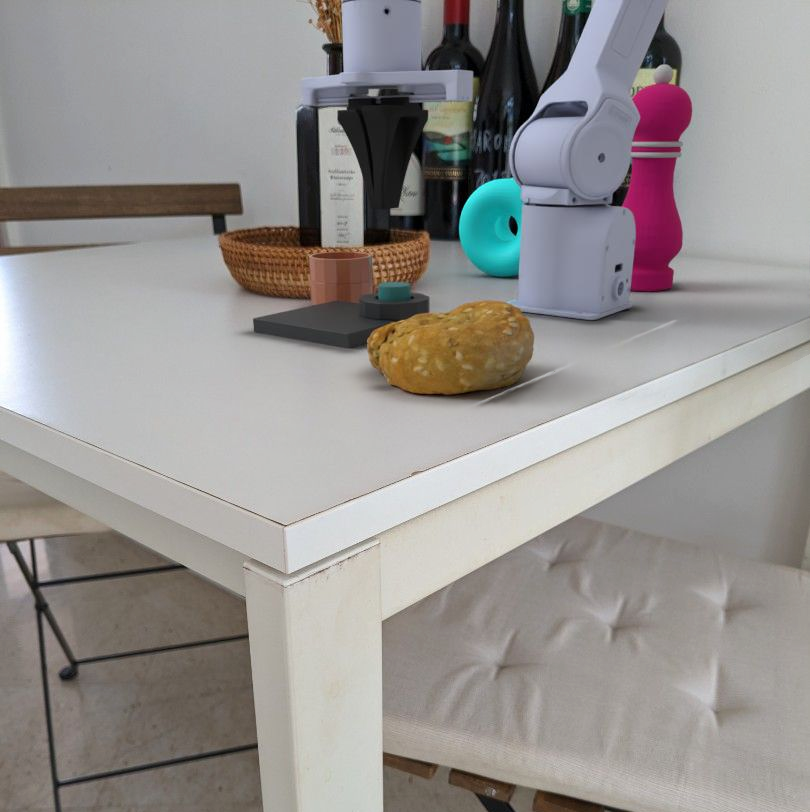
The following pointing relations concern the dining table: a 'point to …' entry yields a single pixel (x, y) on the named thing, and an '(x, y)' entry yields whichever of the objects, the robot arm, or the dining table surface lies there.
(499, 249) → the donuts
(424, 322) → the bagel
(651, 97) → the pepper mill
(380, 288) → the button
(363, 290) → the cup
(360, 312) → the scale
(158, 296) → the dining table surface
